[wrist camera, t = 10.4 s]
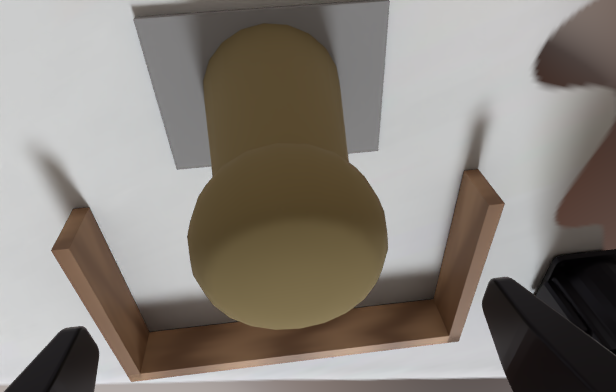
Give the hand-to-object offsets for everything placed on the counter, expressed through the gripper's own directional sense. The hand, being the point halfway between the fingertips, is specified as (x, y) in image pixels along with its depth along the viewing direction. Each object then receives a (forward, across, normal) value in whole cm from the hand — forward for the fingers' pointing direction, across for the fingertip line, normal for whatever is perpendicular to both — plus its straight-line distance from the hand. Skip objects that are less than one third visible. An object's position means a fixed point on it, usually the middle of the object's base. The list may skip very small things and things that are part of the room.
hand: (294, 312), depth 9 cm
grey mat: (+12, 0, 0) cm, 12 cm away
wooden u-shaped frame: (+12, 0, +12) cm, 16 cm away
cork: (+12, 0, 0) cm, 12 cm away
